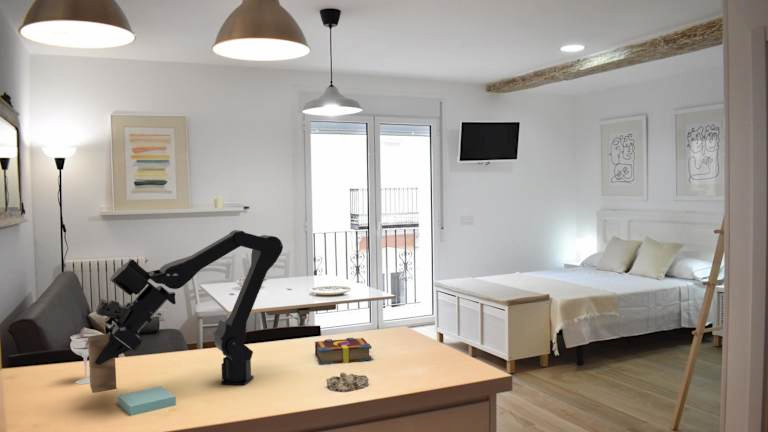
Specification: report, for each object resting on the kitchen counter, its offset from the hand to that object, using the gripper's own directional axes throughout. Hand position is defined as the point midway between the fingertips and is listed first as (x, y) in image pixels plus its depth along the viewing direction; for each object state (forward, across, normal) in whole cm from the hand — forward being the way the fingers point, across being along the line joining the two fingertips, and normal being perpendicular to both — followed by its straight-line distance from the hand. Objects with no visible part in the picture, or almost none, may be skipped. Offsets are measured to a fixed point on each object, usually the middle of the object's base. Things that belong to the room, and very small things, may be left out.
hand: (95, 360), depth 138 cm
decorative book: (-38, -5, +55) cm, 67 cm away
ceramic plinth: (+1, +5, +15) cm, 16 cm away
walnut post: (+4, 0, +6) cm, 7 cm away
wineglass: (+8, -23, +7) cm, 25 cm away
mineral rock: (-30, +19, +47) cm, 59 cm away
